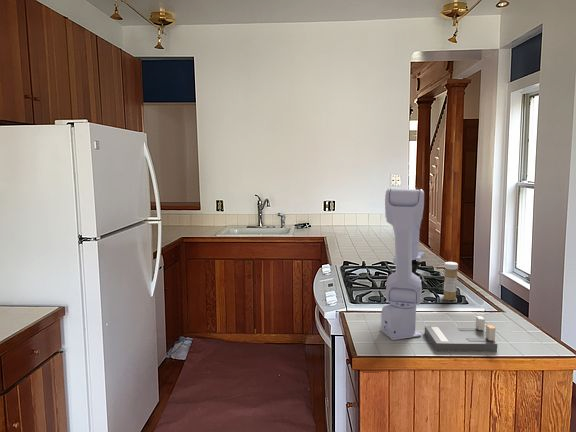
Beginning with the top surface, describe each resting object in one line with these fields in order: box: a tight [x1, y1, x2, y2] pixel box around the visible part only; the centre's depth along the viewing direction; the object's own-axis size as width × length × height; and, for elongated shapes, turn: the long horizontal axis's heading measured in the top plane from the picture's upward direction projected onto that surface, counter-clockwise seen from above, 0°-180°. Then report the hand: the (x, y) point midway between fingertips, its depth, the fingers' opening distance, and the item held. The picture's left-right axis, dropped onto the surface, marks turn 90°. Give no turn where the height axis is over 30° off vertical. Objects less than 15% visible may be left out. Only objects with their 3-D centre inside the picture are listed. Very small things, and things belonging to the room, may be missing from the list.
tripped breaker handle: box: [485, 324, 496, 341], centre depth 120 cm, size 2×2×3 cm, turn 178°
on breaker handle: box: [475, 315, 486, 331], centre depth 127 cm, size 2×2×3 cm, turn 178°
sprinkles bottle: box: [442, 261, 459, 301], centre depth 160 cm, size 5×5×13 cm
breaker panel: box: [424, 325, 498, 353], centre depth 125 cm, size 16×12×2 cm
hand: (408, 282), depth 146 cm, fingers closed
